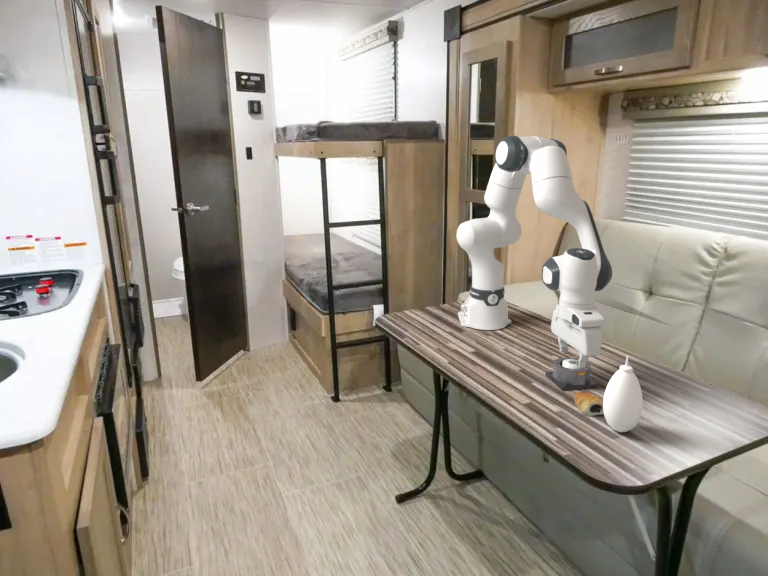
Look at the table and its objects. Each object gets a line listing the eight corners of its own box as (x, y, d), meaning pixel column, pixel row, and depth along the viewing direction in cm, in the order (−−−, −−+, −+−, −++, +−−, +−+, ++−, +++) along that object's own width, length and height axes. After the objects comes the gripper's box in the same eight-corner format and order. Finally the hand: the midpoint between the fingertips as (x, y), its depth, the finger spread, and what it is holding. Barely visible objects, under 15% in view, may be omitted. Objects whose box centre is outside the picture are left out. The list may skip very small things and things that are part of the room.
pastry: (567, 399, 132) (568, 385, 131) (593, 398, 132) (594, 384, 131) (582, 417, 123) (584, 402, 122) (610, 416, 123) (612, 401, 122)
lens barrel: (545, 375, 146) (546, 358, 145) (578, 372, 147) (579, 355, 146) (562, 390, 136) (563, 373, 135) (597, 387, 138) (599, 370, 136)
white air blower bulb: (628, 420, 120) (636, 348, 116) (645, 438, 113) (655, 361, 108) (595, 422, 120) (601, 349, 116) (610, 440, 113) (618, 362, 108)
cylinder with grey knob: (558, 374, 144) (559, 359, 142) (575, 373, 144) (576, 358, 143) (566, 382, 139) (568, 366, 138) (584, 381, 139) (585, 365, 138)
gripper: (546, 300, 146) (543, 346, 150) (584, 323, 127) (580, 375, 130) (567, 299, 147) (564, 345, 151) (608, 321, 128) (603, 373, 131)
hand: (572, 359), depth 140 cm, fingers open, 8 cm apart
